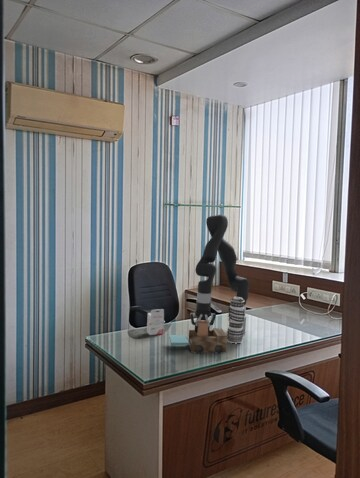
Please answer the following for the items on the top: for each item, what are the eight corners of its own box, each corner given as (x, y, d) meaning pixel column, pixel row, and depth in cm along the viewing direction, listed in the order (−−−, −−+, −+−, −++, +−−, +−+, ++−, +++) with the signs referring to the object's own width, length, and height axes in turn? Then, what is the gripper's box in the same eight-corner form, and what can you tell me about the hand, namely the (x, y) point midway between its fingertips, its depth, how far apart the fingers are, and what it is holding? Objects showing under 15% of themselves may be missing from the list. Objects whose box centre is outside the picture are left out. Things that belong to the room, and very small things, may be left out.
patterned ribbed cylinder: (223, 339, 228) (226, 296, 225) (237, 338, 231) (240, 295, 229) (231, 344, 219) (234, 300, 217) (245, 343, 223) (249, 299, 220)
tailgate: (187, 334, 216) (169, 334, 215) (190, 343, 204) (171, 342, 203) (186, 337, 216) (168, 337, 215) (190, 345, 204) (171, 345, 203)
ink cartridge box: (159, 331, 235) (161, 306, 234) (163, 333, 231) (164, 308, 230) (146, 332, 232) (147, 307, 230) (149, 335, 227) (151, 310, 226)
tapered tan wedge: (205, 332, 215) (206, 319, 214) (207, 336, 208) (208, 323, 207) (195, 332, 214) (196, 319, 213) (198, 336, 207) (198, 323, 206)
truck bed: (220, 343, 220) (221, 327, 219) (226, 353, 206) (227, 336, 205) (187, 343, 218) (188, 327, 217) (191, 353, 204) (192, 335, 203)
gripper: (215, 299, 214) (213, 330, 215) (189, 298, 212) (187, 330, 214) (218, 303, 206) (216, 335, 208) (191, 302, 205) (189, 334, 206)
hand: (201, 332), depth 211 cm, fingers closed on tapered tan wedge, 5 cm apart
